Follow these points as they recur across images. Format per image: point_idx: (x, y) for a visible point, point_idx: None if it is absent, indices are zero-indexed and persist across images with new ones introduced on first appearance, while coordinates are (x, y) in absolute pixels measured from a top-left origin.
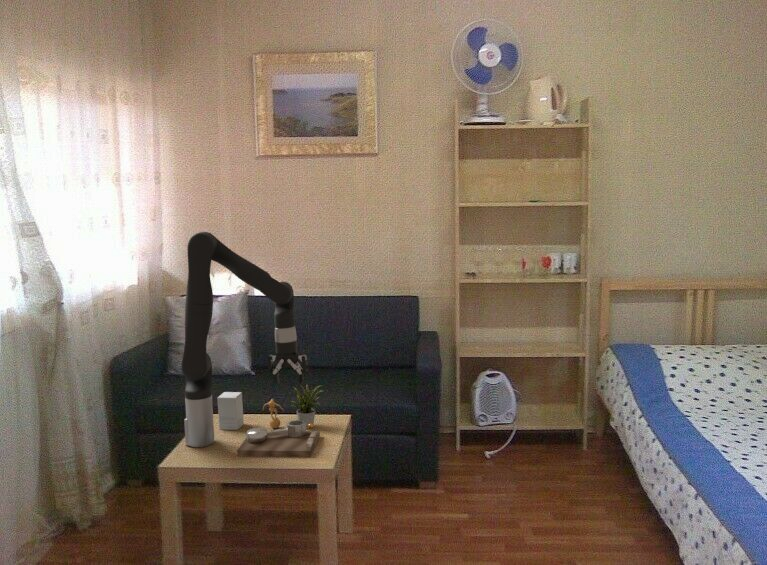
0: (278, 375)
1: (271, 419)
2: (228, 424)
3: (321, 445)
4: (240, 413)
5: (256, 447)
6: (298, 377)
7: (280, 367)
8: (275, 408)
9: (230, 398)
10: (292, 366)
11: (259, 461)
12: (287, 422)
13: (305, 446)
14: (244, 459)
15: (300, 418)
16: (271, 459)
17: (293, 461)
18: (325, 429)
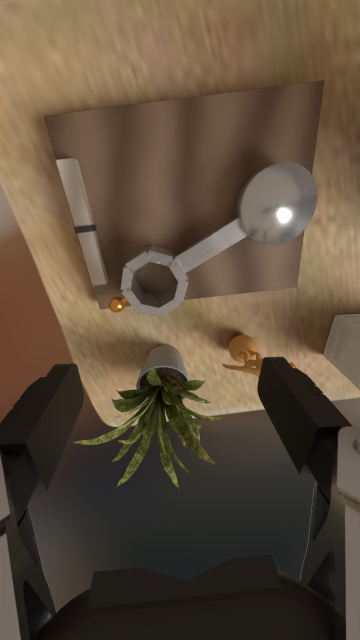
0: (291, 438)
1: (255, 350)
2: None
3: (68, 239)
4: (351, 357)
5: (254, 128)
6: (42, 412)
7: (319, 562)
8: (251, 365)
9: None
10: (8, 637)
11: (218, 36)
12: (185, 286)
13: (83, 167)
14: (279, 53)
15: (173, 359)
16: (179, 70)
17: (91, 59)
18: (111, 350)
